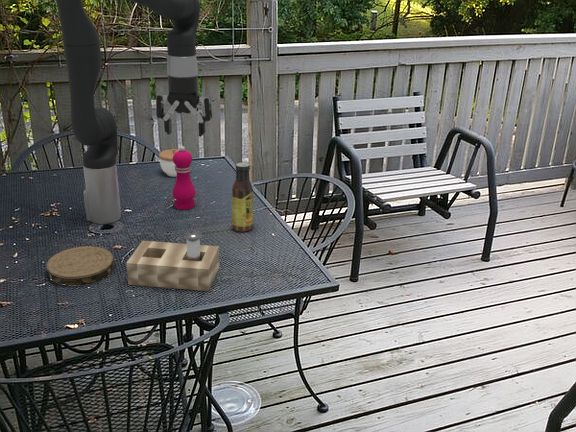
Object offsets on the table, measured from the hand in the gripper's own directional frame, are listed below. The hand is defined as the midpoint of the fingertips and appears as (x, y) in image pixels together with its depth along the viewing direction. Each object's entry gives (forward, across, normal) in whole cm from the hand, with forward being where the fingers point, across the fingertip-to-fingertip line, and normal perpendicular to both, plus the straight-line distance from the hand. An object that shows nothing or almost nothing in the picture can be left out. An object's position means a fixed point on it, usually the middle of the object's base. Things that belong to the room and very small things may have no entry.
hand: (185, 134), depth 154 cm
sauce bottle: (+30, +14, +8) cm, 34 cm away
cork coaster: (+31, -22, -23) cm, 44 cm away
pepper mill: (+30, -7, +21) cm, 38 cm away
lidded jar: (+30, -18, +49) cm, 60 cm away
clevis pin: (+30, +7, -22) cm, 38 cm away
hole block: (+30, +2, -22) cm, 37 cm away
